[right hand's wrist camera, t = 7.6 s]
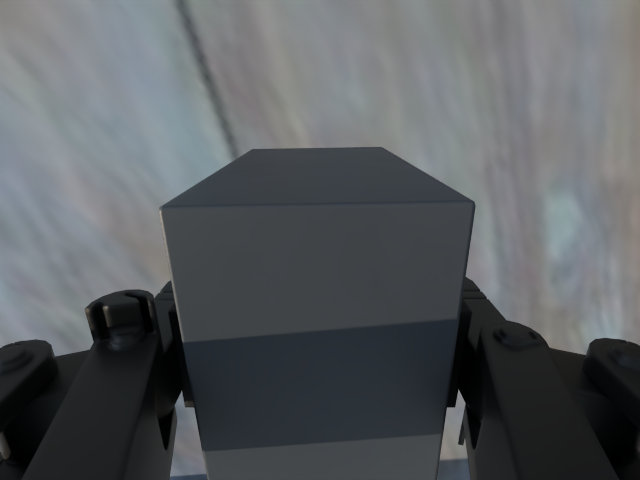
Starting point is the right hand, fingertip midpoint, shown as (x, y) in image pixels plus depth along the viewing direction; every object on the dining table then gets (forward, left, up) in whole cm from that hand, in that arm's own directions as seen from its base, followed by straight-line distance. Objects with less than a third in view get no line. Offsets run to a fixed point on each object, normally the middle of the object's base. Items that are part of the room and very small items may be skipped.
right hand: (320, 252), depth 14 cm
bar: (+18, +20, 0) cm, 26 cm away
